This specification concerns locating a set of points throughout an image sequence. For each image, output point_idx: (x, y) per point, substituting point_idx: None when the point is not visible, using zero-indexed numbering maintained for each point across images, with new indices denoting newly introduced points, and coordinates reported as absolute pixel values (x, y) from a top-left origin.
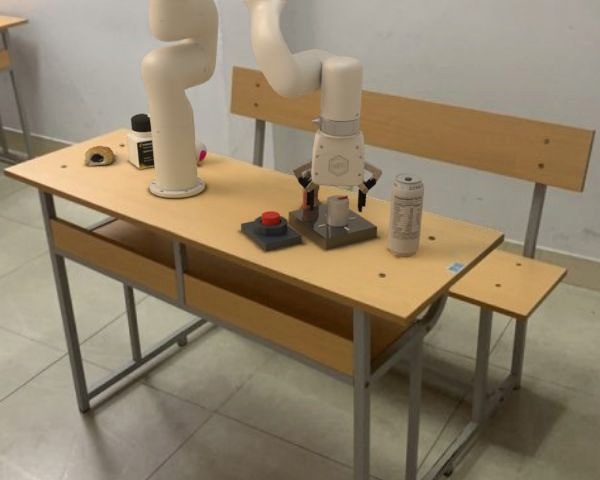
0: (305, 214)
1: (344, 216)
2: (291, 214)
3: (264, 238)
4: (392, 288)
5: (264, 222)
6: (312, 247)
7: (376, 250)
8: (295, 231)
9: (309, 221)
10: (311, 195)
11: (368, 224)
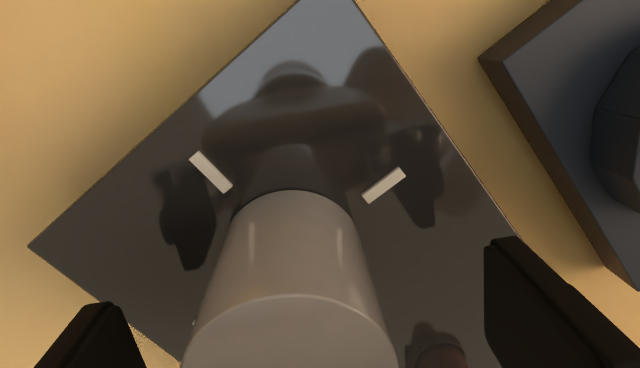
0: None
1: (228, 245)
2: None
3: None
4: None
5: None
6: (410, 13)
7: (12, 44)
8: (540, 118)
9: (465, 232)
10: (607, 334)
11: (91, 262)
